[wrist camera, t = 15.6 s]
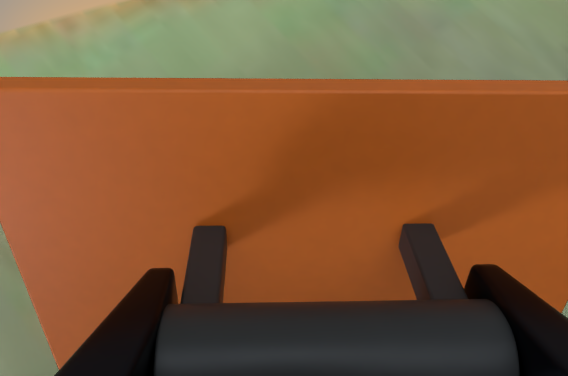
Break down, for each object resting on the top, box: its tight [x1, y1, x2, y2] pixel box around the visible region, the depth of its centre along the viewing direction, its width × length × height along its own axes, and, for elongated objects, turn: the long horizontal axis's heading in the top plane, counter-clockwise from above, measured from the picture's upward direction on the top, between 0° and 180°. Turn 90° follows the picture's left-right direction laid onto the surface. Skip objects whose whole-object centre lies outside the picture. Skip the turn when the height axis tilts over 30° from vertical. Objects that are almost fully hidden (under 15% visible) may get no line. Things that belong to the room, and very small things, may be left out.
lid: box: [0, 77, 568, 376], centre depth 11 cm, size 12×13×5 cm
